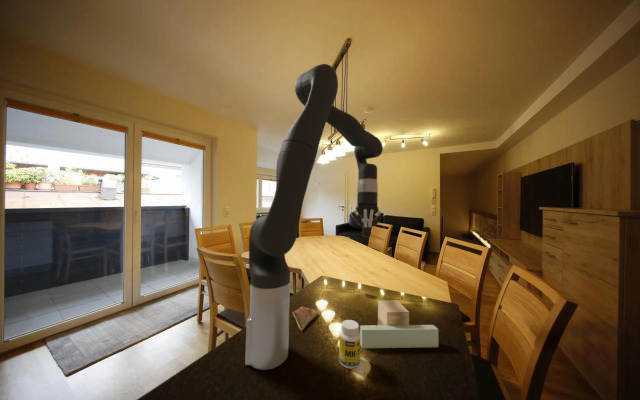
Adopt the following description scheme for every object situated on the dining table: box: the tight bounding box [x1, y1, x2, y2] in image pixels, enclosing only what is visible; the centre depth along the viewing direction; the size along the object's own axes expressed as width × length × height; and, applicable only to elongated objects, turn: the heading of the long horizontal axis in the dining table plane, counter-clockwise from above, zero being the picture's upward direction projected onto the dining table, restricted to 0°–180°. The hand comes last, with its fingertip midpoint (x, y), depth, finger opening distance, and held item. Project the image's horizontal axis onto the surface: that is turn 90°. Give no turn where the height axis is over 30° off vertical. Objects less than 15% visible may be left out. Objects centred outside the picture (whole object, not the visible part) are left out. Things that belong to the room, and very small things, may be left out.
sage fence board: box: [359, 324, 439, 349], centre depth 53 cm, size 20×2×4 cm, turn 93°
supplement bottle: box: [338, 319, 361, 370], centre depth 47 cm, size 5×5×8 cm
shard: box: [292, 306, 319, 332], centre depth 64 cm, size 11×8×2 cm
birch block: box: [377, 299, 410, 325], centre depth 58 cm, size 6×7×8 cm
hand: (366, 237), depth 77 cm, fingers closed
